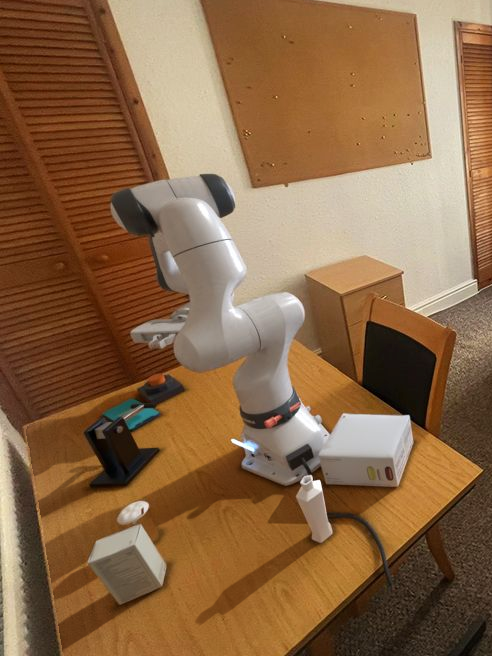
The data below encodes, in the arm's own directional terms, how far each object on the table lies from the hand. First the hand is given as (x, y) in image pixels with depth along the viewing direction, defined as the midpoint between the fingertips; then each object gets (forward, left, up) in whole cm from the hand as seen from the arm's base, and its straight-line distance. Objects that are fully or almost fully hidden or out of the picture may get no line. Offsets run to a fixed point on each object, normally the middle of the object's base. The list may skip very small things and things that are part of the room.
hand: (154, 346), depth 105 cm
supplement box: (-60, -16, -22) cm, 66 cm away
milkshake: (-37, +20, -22) cm, 47 cm away
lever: (-8, +12, -12) cm, 19 cm away
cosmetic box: (-46, +24, -22) cm, 56 cm away
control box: (+15, 0, -22) cm, 27 cm away
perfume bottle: (-65, +1, -22) cm, 69 cm away
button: (+15, 0, -18) cm, 24 cm away
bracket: (-11, +16, -22) cm, 29 cm away
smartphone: (+11, +8, -22) cm, 26 cm away
